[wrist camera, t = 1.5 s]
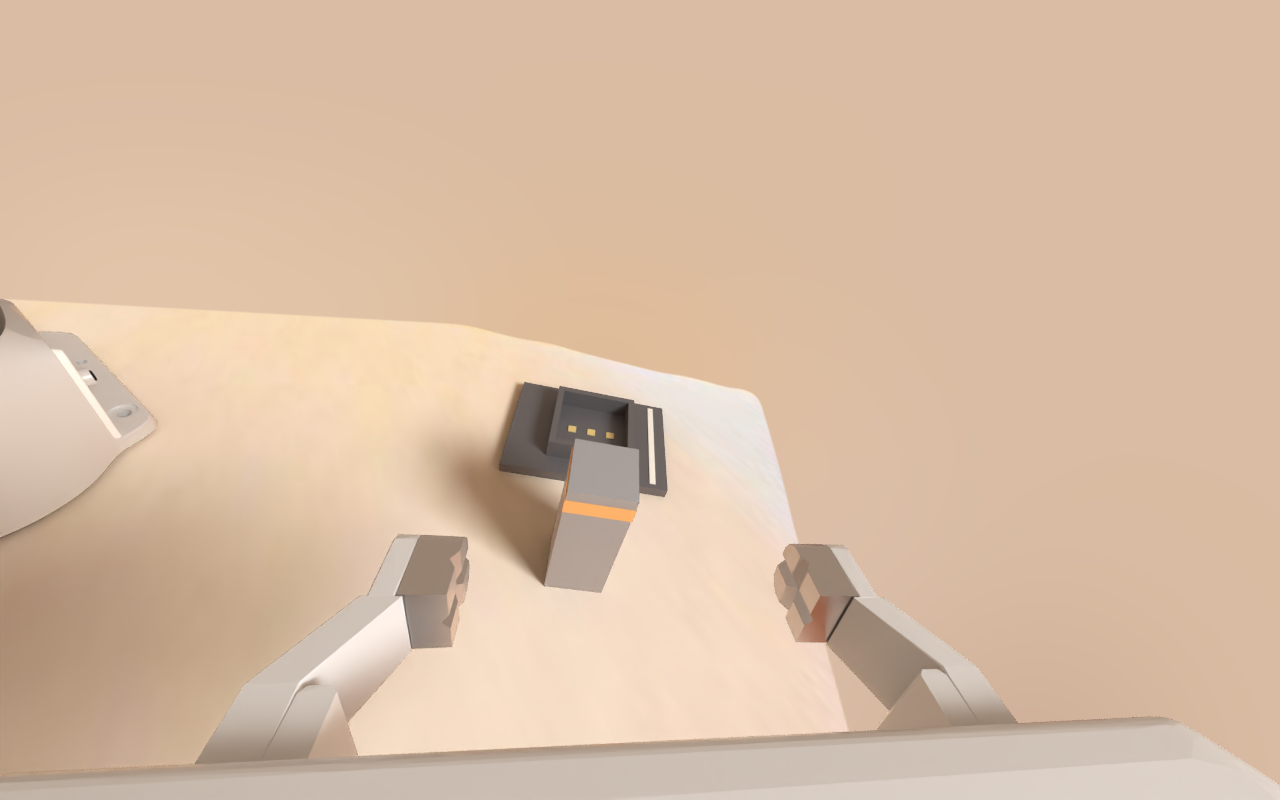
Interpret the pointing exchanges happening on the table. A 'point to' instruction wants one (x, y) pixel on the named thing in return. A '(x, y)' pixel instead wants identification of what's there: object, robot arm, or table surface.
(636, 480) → the plug
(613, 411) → the socket
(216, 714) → the table surface
